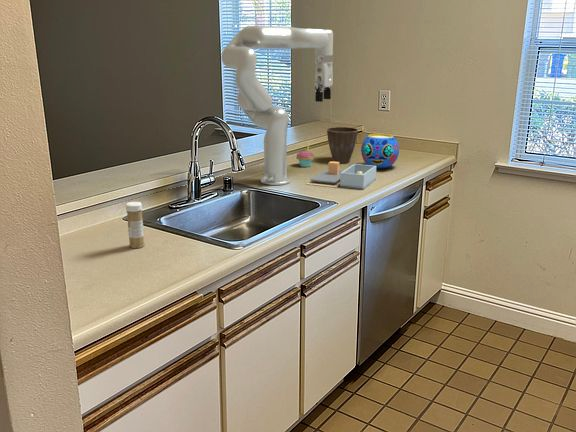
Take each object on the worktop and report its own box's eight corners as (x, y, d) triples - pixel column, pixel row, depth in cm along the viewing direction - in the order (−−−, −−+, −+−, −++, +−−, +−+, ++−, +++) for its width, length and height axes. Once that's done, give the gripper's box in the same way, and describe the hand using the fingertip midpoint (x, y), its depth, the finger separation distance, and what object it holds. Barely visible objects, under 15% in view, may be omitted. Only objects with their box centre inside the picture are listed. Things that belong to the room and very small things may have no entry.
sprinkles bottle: (130, 243, 180) (127, 201, 176) (145, 243, 181) (142, 200, 177) (128, 249, 176) (124, 205, 172) (143, 248, 177) (140, 205, 172)
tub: (363, 189, 240) (363, 175, 238) (340, 186, 244) (340, 172, 242) (375, 179, 256) (376, 165, 254) (353, 177, 259) (354, 163, 258)
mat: (336, 187, 242) (336, 186, 242) (306, 184, 248) (306, 183, 247) (352, 176, 262) (352, 175, 261) (325, 173, 267) (325, 172, 267)
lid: (335, 185, 244) (335, 170, 242) (310, 183, 249) (310, 167, 246) (349, 175, 261) (350, 160, 259) (326, 173, 265) (326, 158, 263)
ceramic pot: (357, 170, 272) (358, 138, 267) (364, 162, 288) (365, 131, 283) (395, 172, 267) (397, 140, 262) (400, 164, 283) (402, 133, 279)
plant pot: (335, 157, 299) (336, 125, 294) (362, 161, 291) (363, 128, 286) (320, 162, 287) (321, 130, 282) (347, 166, 279) (348, 133, 274)
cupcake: (317, 165, 282) (317, 140, 278) (308, 168, 275) (308, 143, 272) (301, 163, 286) (302, 138, 283) (292, 166, 280) (292, 141, 276)
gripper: (324, 61, 244) (324, 102, 250) (338, 59, 259) (337, 98, 265) (308, 60, 247) (307, 102, 252) (322, 58, 262) (322, 97, 267)
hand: (323, 100), depth 258 cm, fingers open, 9 cm apart
